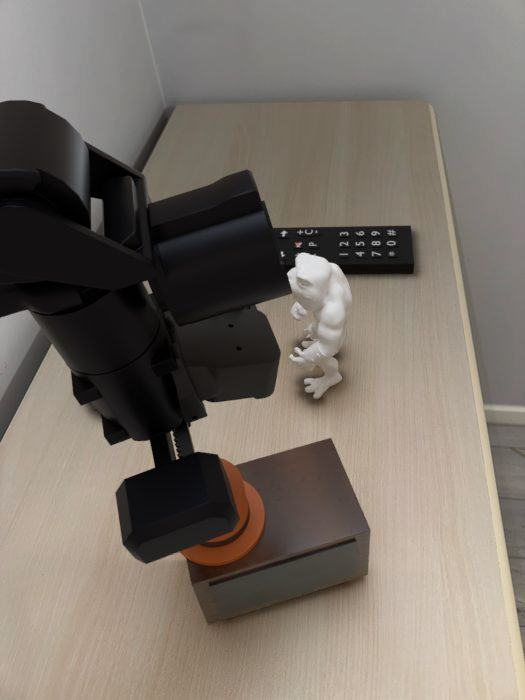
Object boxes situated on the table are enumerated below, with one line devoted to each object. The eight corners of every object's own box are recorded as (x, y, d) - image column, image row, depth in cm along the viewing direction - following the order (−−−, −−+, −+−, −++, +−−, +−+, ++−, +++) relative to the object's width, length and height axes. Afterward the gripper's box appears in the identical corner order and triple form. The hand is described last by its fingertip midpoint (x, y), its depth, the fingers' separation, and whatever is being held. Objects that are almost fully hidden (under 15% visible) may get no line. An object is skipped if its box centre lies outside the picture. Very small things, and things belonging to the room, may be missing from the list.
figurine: (356, 405, 70) (358, 301, 59) (293, 409, 71) (282, 306, 60) (347, 331, 78) (347, 225, 67) (290, 334, 78) (280, 230, 67)
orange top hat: (178, 579, 50) (165, 548, 46) (162, 493, 55) (148, 459, 51) (277, 549, 51) (271, 516, 47) (251, 467, 56) (244, 432, 52)
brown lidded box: (210, 632, 56) (191, 587, 49) (188, 534, 62) (170, 483, 56) (368, 582, 58) (371, 532, 51) (332, 492, 64) (331, 437, 57)
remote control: (172, 238, 92) (169, 226, 91) (409, 234, 88) (410, 222, 87) (161, 275, 87) (158, 263, 86) (413, 273, 83) (414, 261, 82)
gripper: (299, 409, 31) (346, 552, 42) (211, 193, 43) (266, 348, 55) (70, 495, 31) (179, 615, 42) (49, 253, 43) (138, 396, 55)
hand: (196, 476), depth 49 cm, fingers open, 9 cm apart
